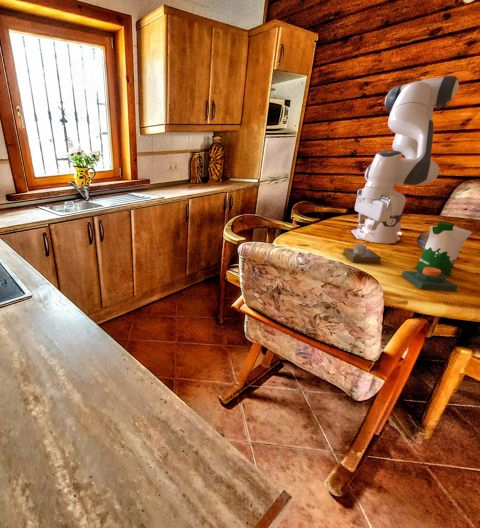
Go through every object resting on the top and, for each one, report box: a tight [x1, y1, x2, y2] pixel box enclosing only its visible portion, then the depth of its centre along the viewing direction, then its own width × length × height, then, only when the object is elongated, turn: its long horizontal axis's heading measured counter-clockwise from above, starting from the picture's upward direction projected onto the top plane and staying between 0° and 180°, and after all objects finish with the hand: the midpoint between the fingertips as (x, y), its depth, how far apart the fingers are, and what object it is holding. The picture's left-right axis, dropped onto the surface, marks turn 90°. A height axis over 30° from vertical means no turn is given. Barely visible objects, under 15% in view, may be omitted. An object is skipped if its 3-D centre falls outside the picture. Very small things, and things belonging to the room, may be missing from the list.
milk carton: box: [415, 221, 473, 277], centre depth 106 cm, size 9×9×20 cm
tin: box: [416, 231, 430, 250], centre depth 127 cm, size 15×3×8 cm, turn 5°
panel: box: [342, 247, 382, 264], centre depth 125 cm, size 11×11×3 cm
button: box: [422, 267, 441, 277], centre depth 101 cm, size 4×4×2 cm
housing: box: [401, 269, 458, 292], centre depth 102 cm, size 11×10×4 cm
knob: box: [353, 243, 368, 255], centre depth 122 cm, size 4×4×4 cm
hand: (366, 226), depth 118 cm, fingers open, 8 cm apart
